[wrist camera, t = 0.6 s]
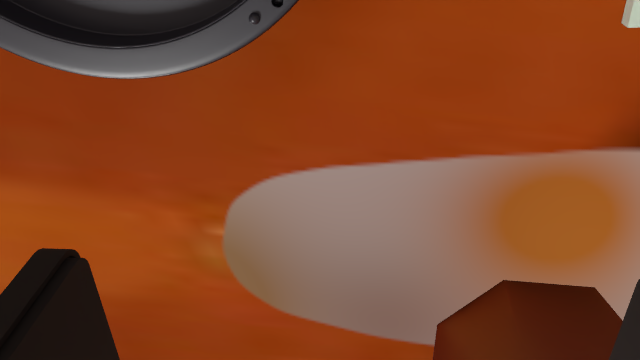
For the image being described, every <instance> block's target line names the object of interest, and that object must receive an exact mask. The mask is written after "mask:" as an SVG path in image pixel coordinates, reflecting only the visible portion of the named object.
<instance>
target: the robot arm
mask: <svg viewBox="0 0 640 360" xmlns="http://www.w3.org/2000/svg"><path fill="white" fill-rule="evenodd" d="M0 360H120V359H119V356H118V353H117V350H116V347H115V343H114V340H113V337H112V334H111V331H110V328H109V325H108V322H107V319H106V315H105V312H104V309H103V306H102V303H101V300H100V297H99V294H98V291H97V288H96V284H95V281H94V278H93V275H92V272H91V269H90V266H89V263H88V261H87V260H86V259H85V258H80V256H79V254H78V252H77V251H75V250H72V249H45V248H42V249H39V250H37V251H36V252H35V253H34V254H33V255H32V257H31V258H30V259H29V260H28V262H27V263H26V264H25V265H24V267H23V268H22V269H21V270H20V271H19V273H18V274H17V275H16V276H15V278H14V279H13V280H12V281H11V283H10V284H9V285H8V286H7V287H6V289H5V290H4V291H3V292H2V294H1V295H0ZM609 360H640V279H639V280H638V282H637V284H636V287H635V290H634V293H633V295H632V298H631V301H630V303H629V306H628V309H627V312H626V314H625V317H624V320H623V322H622V325H621V328H620V330H619V333H618V336H617V339H616V341H615V344H614V347H613V349H612V352H611V355H610V358H609Z"/></svg>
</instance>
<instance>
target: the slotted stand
mask: <svg viewBox="0 0 640 360" xmlns="http://www.w3.org/2000/svg"><path fill="white" fill-rule="evenodd" d="M622 24H623V25H625V26H626V27H627V28H634V27H640V0H627V1H626V6H625V10H624V14H623V19H622Z"/></svg>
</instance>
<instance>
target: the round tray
mask: <svg viewBox="0 0 640 360" xmlns="http://www.w3.org/2000/svg"><path fill="white" fill-rule="evenodd" d="M298 1H299V0H0V47H1V48H3V49H5V50H7V51H9V52H11V53H14V54H16V55H18V56H21V57H23V58H26V59H28V60H31V61H34V62H37V63H39V64H42V65H45V66H49V67H52V68H55V69H59V70H63V71H67V72H72V73H76V74H81V75H87V76H94V77H103V78H116V79H140V78H153V77H161V76H167V75H172V74H177V73H182V72H185V71H189V70H193V69H196V68H199V67H202V66H205V65H208V64H210V63H213V62H215V61H217V60H220V59H222V58H224V57H226V56H228V55H230V54H232V53H234V52H236V51H238V50H239V49H241V48H243V47H244V46H246V45H248V44H249V43H251V42H252V41H254V40H255V39H257V38H258V37H259V36H261V35H262V34H263V33H265V32H266V31H267V30H269V29H270V28H271V27H272V26H273V25H274V24H276V23H277V22H278V21H279V20H280V19H281V18H282V17H283V16H284V15H285V14H286V13H287V12H288V11H289V10H290V9H291V8H292V7H293V6H294V5H295V4H296V3H297V2H298Z"/></svg>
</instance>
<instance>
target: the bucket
mask: <svg viewBox="0 0 640 360" xmlns="http://www.w3.org/2000/svg"><path fill="white" fill-rule="evenodd" d="M622 322H623V321H622V320H621V318H620V317H619V316H618V315H617V314H616V312H615V311H614V310H613V309H612V308H611V307H610V305H609V304H608V303H607V302H606V301H605V299H604V298H603V297H602V296H601V295H600V293H599V292H598V291H597V290H596V289H595V288H594V287H582V286H569V285H557V284H544V283H532V282H520V281H507V280H503V281H502V282H500V283H499V284H497V285H496V286H494V287H493V288H491V289H490V290H488V291H487V292H485V293H484V294H482V295H481V296H479V297H478V298H476V299H475V300H473V301H472V302H470V303H469V304H467V305H466V306H464V307H463V308H461V309H460V310H458V311H457V312H455V313H454V314H453V315H451V316H450V317H448V318H447V319H445V320H444V321H442V322H441V323H439V324H438V325H437V331H436V340H435V347H434V355H433V360H609V358H610V355H611V352H612V349H613V347H614V344H615V341H616V339H617V336H618V333H619V330H620V328H621V325H622Z"/></svg>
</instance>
